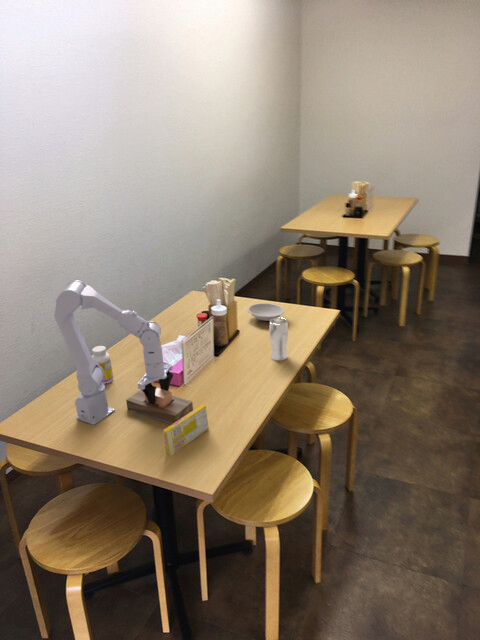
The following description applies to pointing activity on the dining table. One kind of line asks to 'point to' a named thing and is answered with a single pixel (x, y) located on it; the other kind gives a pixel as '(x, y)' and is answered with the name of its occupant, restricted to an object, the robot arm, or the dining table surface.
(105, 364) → the supplement bottle
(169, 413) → the slot base
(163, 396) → the peach arch block
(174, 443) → the candy box
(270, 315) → the dish
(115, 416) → the dining table surface
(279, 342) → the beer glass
